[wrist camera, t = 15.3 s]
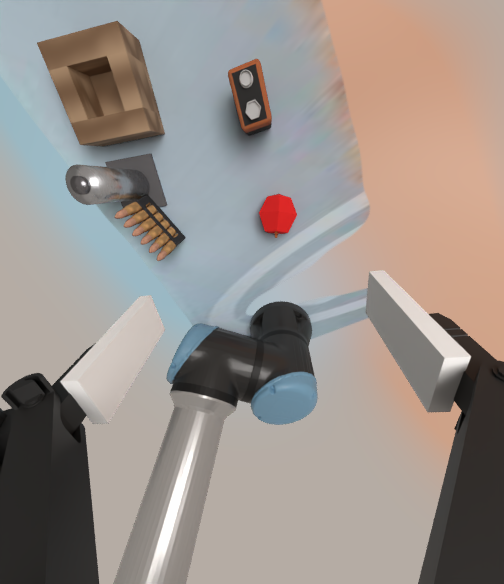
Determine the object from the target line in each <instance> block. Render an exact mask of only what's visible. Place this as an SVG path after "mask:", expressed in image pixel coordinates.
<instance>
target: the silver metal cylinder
mask: <svg viewBox="0 0 504 584" xmlns="http://www.w3.org/2000/svg"><path fill="white" fill-rule="evenodd" d="M66 185H67V188H68V190H69V192H70V193H71V195H72V196H73V197H74V198H75V199H76V200H77V201H79V202H80V203H82V204H86V205H91V204H101V203H110V202H120V201H130V200H138V199H140V198H142V197H143V196H146V195H147V194H148V192H149V183H148V180H147V178H146V177H145V175H144V174H143V173H141V172H140V171H138V170H132V169H121V168H109V167H98V166H87V165H73V166H71V167H70V168H69V169H68V171H67V173H66Z"/></svg>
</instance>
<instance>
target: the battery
mask: <svg viewBox="0 0 504 584" xmlns="http://www.w3.org/2000/svg"><path fill="white" fill-rule="evenodd" d="M228 77H229V81H230V85H231V89H232V93H233V97H234V101H235V105H236V108H237V112H238V116H239V120H240V124H241V128H242V129H243V130H244V132H245V133H246V134H247V135H252V134H255V133H258V132H261V131H263V130H266V129H269V128H270V127H271V119H272V117H271V112H270V107H269V102H268V97H267V92H266V87H265V82H264V77H263V72H262V68H261V63H260V61H259V60H258V59H255V60H252V61H250V62H248V63H245V64H243V65H240V66H238V67H235V68H233V69H231V70H229V72H228Z"/></svg>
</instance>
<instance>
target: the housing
mask: <svg viewBox="0 0 504 584" xmlns="http://www.w3.org/2000/svg"><path fill="white" fill-rule="evenodd" d="M37 44H38V47H39V49H40V51H41V54H42V56H43V58H44V61H45V63H46V65H47V68H48V70H49V73H50V75H51V77H52V80H53V82H54V84H55V87H56V89H57V91H58V94H59V96H60V98H61V101H62V103H63V105H64V108H65V110H66V112H67V115H68V117H69V119H70V122H71V124H72V127H73V129H74V131H75V134H76V136H77V138H78V141H79V143H80V145H90V146H107V145H112V144H117V143H122V142H127V141H132V140H137V139H142V138H147V137H152V136H157V135H162V134H165V132H164V129H163V125H162V122H161V118H160V114H159V111H158V107H157V103H156V100H155V96H154V93H153V89H152V85H151V82H150V78H149V74H148V71H147V67H146V64H145V60H144V56H143V53H142V49H141V45H140V42H139V40H138V39H137V38H136V37H135V36H134V35H132V34H131V33H130V32H129V31H128V30H127V29H126V28H125V27H124V26H122V25H121V24H120V23H119V22H118V21H115V22H111V23H108V24H104V25H100V26H97V27H93V28H89V29H86V30H82V31H78V32H75V33H71V34H68V35H64V36H60V37H57V38H53V39H49V40H46V41H42V42H38V43H37Z"/></svg>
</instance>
